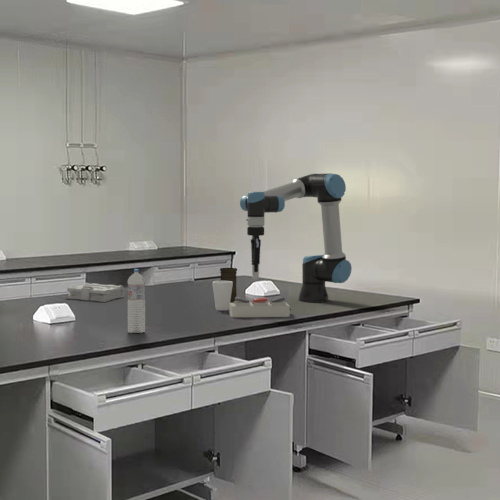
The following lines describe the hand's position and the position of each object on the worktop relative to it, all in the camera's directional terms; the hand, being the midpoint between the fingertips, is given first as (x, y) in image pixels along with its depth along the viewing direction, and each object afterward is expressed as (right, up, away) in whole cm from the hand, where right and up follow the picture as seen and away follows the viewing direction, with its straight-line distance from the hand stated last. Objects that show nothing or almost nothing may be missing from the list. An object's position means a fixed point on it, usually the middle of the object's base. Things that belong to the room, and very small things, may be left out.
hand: (255, 278), depth 340 cm
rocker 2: (+2, -9, 0) cm, 10 cm away
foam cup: (-15, -15, +17) cm, 28 cm away
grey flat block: (-83, -12, +49) cm, 97 cm away
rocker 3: (+10, -9, +1) cm, 14 cm away
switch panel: (+2, -16, +2) cm, 17 cm away
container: (-13, -14, +30) cm, 35 cm away
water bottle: (-47, -20, -40) cm, 65 cm away
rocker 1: (-6, -9, -1) cm, 11 cm away
